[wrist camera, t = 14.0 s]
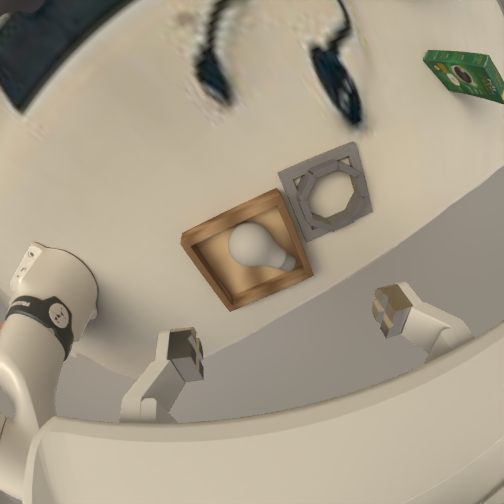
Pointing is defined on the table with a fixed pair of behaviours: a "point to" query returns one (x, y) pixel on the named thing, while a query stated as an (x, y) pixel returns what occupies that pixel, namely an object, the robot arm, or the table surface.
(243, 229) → the lightbulb
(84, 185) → the table surface
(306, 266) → the tray
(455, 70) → the coffee box
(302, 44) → the table surface
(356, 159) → the socket
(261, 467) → the robot arm
